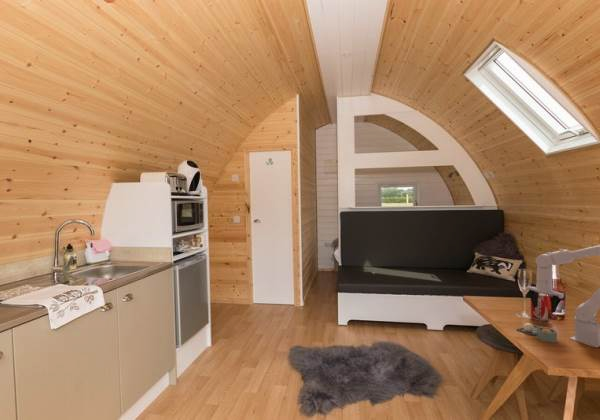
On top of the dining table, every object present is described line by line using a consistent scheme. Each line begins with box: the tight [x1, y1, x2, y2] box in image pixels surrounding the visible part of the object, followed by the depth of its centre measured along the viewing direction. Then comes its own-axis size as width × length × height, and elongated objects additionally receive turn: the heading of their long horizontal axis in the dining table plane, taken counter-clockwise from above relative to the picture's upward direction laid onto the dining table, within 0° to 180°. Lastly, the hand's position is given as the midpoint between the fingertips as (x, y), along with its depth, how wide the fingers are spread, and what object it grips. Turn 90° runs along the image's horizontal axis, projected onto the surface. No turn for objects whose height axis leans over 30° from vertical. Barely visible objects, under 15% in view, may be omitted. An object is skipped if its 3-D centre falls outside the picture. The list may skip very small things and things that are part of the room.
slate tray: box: [516, 324, 539, 337], centre depth 150 cm, size 7×12×1 cm, turn 114°
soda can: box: [530, 293, 549, 322], centre depth 165 cm, size 7×7×13 cm
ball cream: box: [522, 322, 534, 332], centre depth 149 cm, size 4×4×4 cm
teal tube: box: [536, 326, 558, 343], centre depth 141 cm, size 7×7×4 cm
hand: (544, 309), depth 150 cm, fingers open, 7 cm apart
